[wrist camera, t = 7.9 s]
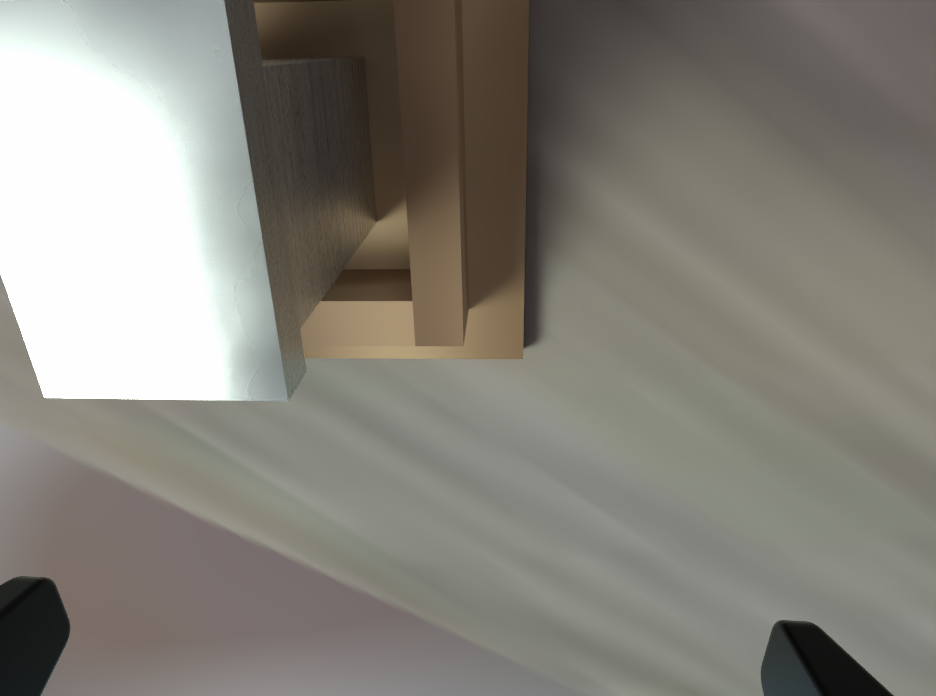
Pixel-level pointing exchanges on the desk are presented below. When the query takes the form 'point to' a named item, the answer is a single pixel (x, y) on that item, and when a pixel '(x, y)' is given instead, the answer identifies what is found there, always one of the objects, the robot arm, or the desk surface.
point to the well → (427, 174)
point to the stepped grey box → (172, 196)
